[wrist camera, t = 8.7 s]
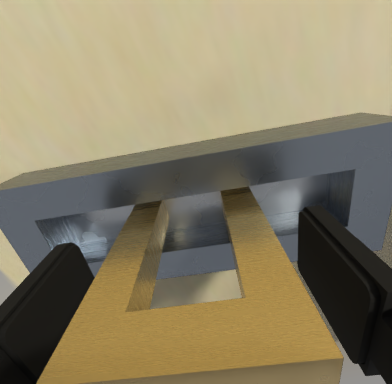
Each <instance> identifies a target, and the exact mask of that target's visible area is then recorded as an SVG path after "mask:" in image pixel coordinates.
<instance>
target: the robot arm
mask: <svg viewBox="0 0 392 384" xmlns="http://www.w3.org/2000/svg"><path fill="white" fill-rule="evenodd" d="M297 263H298V268H299V271H300V273H301V275H302V277H303V278H304V280H305V282H306V284H307V285H308V287H309V289H310V291H311V292H312V294H313V296H314V297H315V299H316V301H317V303H318V304H319V306H320V308H321V310H322V311H323V313H324V315H325V317H326V318H327V320H328V322H329V324H330V325H331V327H332V329H333V331H334V332H335V334H336V336H337V337H338V339H339V341H340V343H341V344H342V346H343V348H344V349H345V351H346V353H347V355H348V356H349V358H350V360H351V361H352V362H353V363H355V364H359V366H360V367H361V369H362V370H363V372H364V374H365V376H370V375H381V376H382V377H383V379H384V381H385V382H386V384H392V269H391V268H390V267H389V266H388V265H387V264H386V263H385V262H383V261H382V260H381V259H380V258H379V257H378V256H377V255H376V254H375V253H373V252H372V251H371V250H370V249H369V248H368V247H367V246H366V245H365V244H364V243H362V242H361V241H360V240H359V239H358V238H356V237H355V236H354V235H353V234H352V233H351V232H350V231H348V230H347V229H346V228H345V227H344V226H343V225H342V224H341V223H340V222H338V221H337V220H336V219H335V218H334V217H333V216H332V215H331V214H330V213H329V212H327V211H326V210H325V209H324V208H323V207H322V206H320V205H316V206H310V207H304V208H303V211H301V212H299V215H298V262H297ZM94 278H95V277H94V275H93V273H92V271H91V269H90V267H89V265H88V263H87V261H86V260H85V258H84V256H83V254H82V252H81V250H80V248H79V246H77V245H75V244H74V243H72V242H70V243H63V244H58V245H56V246H55V247H54V248H53V249H52V250H51V251H50V252H49V254H48V255H47V256H46V257H45V258H44V259H43V260H42V261H41V262H40V263H39V264H38V265H37V267H36V268H35V269H34V270H33V271H32V272H31V273H30V274H29V275H28V276H27V277H26V278H25V279H24V281H23V282H22V283H21V284H20V285H19V286H18V287H17V288H16V289H15V290H14V291H13V292H12V294H11V295H10V296H9V297H8V298H7V299H6V300H5V301H4V302H3V303H2V304H1V306H0V384H36V383H37V381H38V380H39V378H40V376H41V374H42V372H43V371H44V369H45V367H46V365H47V363H48V361H49V360H50V358H51V356H52V354H53V352H54V351H55V349H56V347H57V345H58V343H59V342H60V340H61V338H62V336H63V334H64V333H65V331H66V329H67V327H68V325H69V324H70V322H71V320H72V318H73V316H74V315H75V313H76V311H77V309H78V307H79V305H80V304H81V302H82V300H83V298H84V296H85V295H86V293H87V291H88V289H89V287H90V286H91V284H92V282H93V280H94Z"/></svg>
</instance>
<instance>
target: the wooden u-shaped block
mask: <svg viewBox="0 0 392 384" xmlns="http://www.w3.org/2000/svg"><path fill="white" fill-rule="evenodd" d="M220 195H221V202H222V208H223V214H224V218H225V223H226V227H227V232H228V236H229V241H230V245H231V250H232V254H233V259H234V263H235V268H236V272H237V277H238V282H239V286H240V291H241V295H242V298H239V299H231V300H223V301H215V302H207V303H198V304H190V305H182V306H174V307H166V308H157V309H150V304H151V300H152V295H153V291H154V286H155V282H156V277H157V272H158V268H159V263H160V259H161V254H162V250H163V245H164V241H165V236H166V232H167V227H168V223H169V215H168V211H167V208H166V204H165V200H160V201H154V202H148V203H142V204H135V206H134V208H133V210H132V212H131V213H130V215H129V217H128V219H127V221H126V222H125V224H124V226H123V228H122V230H121V231H120V233H119V235H118V237H117V239H116V240H115V242H114V244H113V246H112V248H111V249H110V251H109V253H108V255H107V257H106V259H105V260H104V262H103V264H102V266H101V268H100V269H99V271H98V273H97V275H96V277H95V278H94V280H93V282H92V284H91V286H90V287H89V289H88V291H87V293H86V295H85V296H84V298H83V300H82V302H81V304H80V305H79V307H78V309H77V311H76V313H75V315H74V316H73V318H72V320H71V322H70V324H69V325H68V327H67V329H66V331H65V333H64V334H63V336H62V338H61V340H60V342H59V343H58V345H57V347H56V349H55V351H54V352H53V354H52V356H51V358H50V360H49V361H48V363H47V365H46V367H45V369H44V371H43V372H42V374H41V376H40V378H39V380H38V381H37V383H36V384H339V382H340V375H341V370H342V365H343V359H344V357H343V356H342V354H341V352H340V350H339V348H338V347H337V345H336V343H335V341H334V339H333V338H332V336H331V334H330V332H329V330H328V329H327V327H326V325H325V323H324V321H323V319H322V318H321V316H320V314H319V312H318V310H317V309H316V307H315V305H314V303H313V301H312V300H311V298H310V296H309V294H308V292H307V291H306V289H305V287H304V285H303V283H302V282H301V280H300V278H299V276H298V274H297V273H296V271H295V269H294V267H293V265H292V264H291V262H290V260H289V258H288V256H287V255H286V253H285V251H284V249H283V247H282V246H281V244H280V242H279V240H278V238H277V237H276V235H275V233H274V231H273V229H272V228H271V226H270V224H269V222H268V220H267V219H266V217H265V215H264V213H263V211H262V210H261V208H260V206H259V204H258V202H257V201H256V199H255V197H254V195H253V193H252V191H251V190H250V188H249V186H247V187H241V188H235V189H229V190H223V191H220Z"/></svg>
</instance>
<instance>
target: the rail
mask: <svg viewBox="0 0 392 384" xmlns="http://www.w3.org/2000/svg"><path fill="white" fill-rule="evenodd" d="M247 186H249V188H250V190H251V191H252V193H253V195H254V197H255V199H256V201H257V202H258V204H259V206H260V208H261V210H262V211H263V213H264V215H265V217H266V219H267V220H268V222H269V224H270V226H271V228H272V229H273V231H274V233H275V235H276V237H277V238H278V240H279V242H280V244H281V246H282V247H283V249H284V251H285V253H286V255H287V256H288V258H289V260H290V262H294V261H298V215H299V212H301V211H303V208H304V207H310V206H316V205H320V206H322V207H323V208H324V209H325V210H326V211H327V212H329V213H330V214H331V215H332V216H333V217H334V218H335V219H336V220H337V221H338V222H340V223H341V224H342V225H343V226H344V227H345V228H346V229H347V230H348V231H350V232H351V233H352V234H353V235H354V236H355V237H356V238H358V239H359V240H360V241H361V242H362V243H364V244H365V245H366V246H367V247H368V248H369V249H370V250H371V251H377V250H382V246H383V242H384V237H385V233H386V228H387V224H388V219H389V215H390V210H391V206H392V116H386V115H377V114H369V113H356V114H351V115H345V116H340V117H334V118H329V119H323V120H318V121H312V122H306V123H301V124H295V125H290V126H284V127H279V128H273V129H267V130H262V131H256V132H251V133H245V134H240V135H234V136H229V137H223V138H217V139H212V140H206V141H201V142H195V143H190V144H184V145H178V146H173V147H167V148H162V149H156V150H151V151H145V152H140V153H134V154H128V155H123V156H117V157H112V158H106V159H101V160H95V161H90V162H84V163H78V164H73V165H67V166H62V167H56V168H51V169H45V170H39V171H34V172H28V173H23V174H21V175H18V176H16V177H14V178H12V179H10V180H8V181H5V182H3V183H1V184H0V229H1V230H2V232H3V233H4V235H5V236H6V238H7V239H8V241H9V242H10V244H11V245H12V247H13V248H14V250H15V251H16V253H17V254H18V256H19V257H20V259H21V260H22V262H23V263H24V265H25V266H26V268H27V269H28V271H29V272H30V273H31V272H32V271H33V270H34V269H35V268H36V267H37V265H38V264H39V263H40V262H41V261H42V260H43V259H44V258H45V257H46V256H47V255H48V254H49V252H50V251H51V250H52V249H53V248H54V247H55V246H56V245H58V244H63V243H70V242H72V243H74V244H75V245H77V246H79V248H80V250H81V252H82V254H83V256H84V258H85V260H86V261H87V263H88V265H89V267H90V269H91V271H92V273H93V275H94V277H96V275H97V273H98V271H99V269H100V268H101V266H102V264H103V262H104V260H105V259H106V257H107V255H108V253H109V251H110V249H111V248H112V246H113V244H114V242H115V240H116V239H117V237H118V235H119V233H120V231H121V230H122V228H123V226H124V224H125V222H126V221H127V219H128V217H129V215H130V213H131V212H132V210H133V208H134V206H135V204H142V203H148V202H154V201H160V200H165V204H166V208H167V211H168V215H169V223H168V227H167V232H166V236H165V241H164V245H163V250H162V254H161V259H160V263H159V268H158V272H157V277H156V280H157V279H165V278H172V277H180V276H188V275H195V274H203V273H210V272H218V271H226V270H233V269H236V268H235V263H234V259H233V254H232V250H231V245H230V241H229V236H228V232H227V227H226V223H225V218H224V214H223V208H222V202H221V195H220V191H223V190H229V189H235V188H241V187H247Z"/></svg>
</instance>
